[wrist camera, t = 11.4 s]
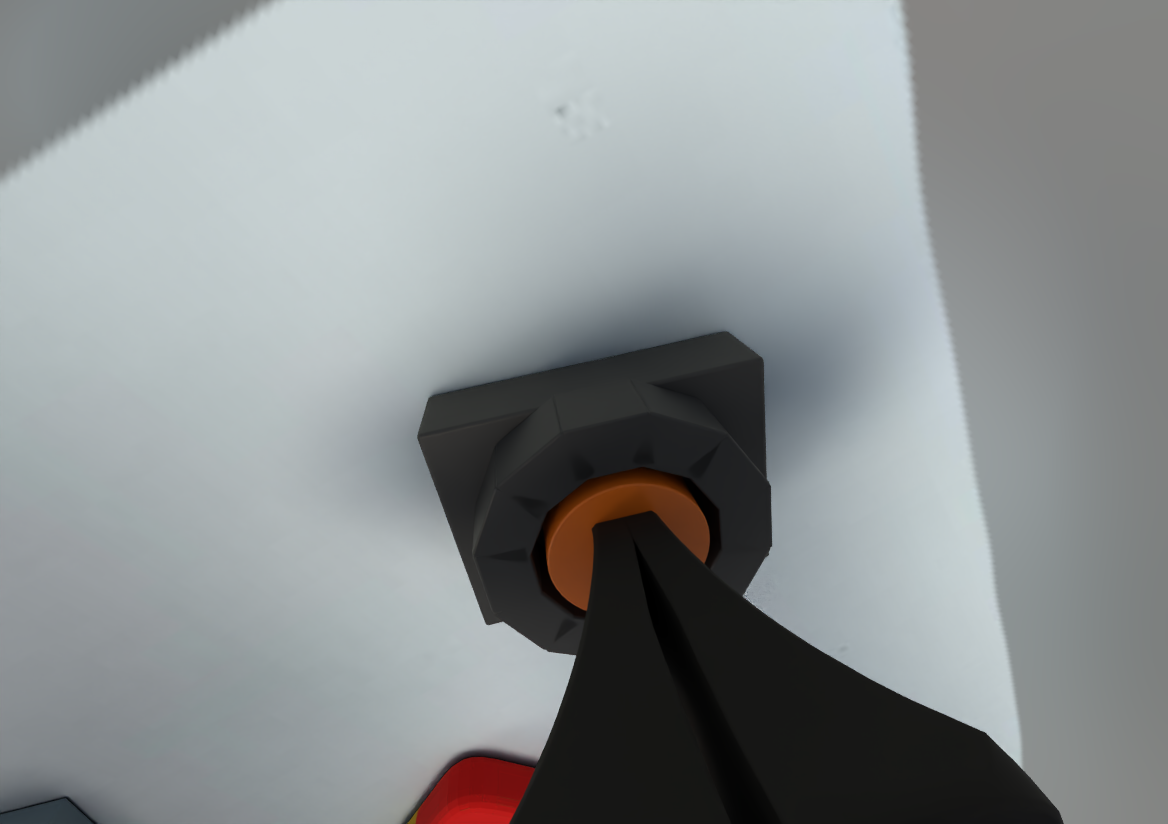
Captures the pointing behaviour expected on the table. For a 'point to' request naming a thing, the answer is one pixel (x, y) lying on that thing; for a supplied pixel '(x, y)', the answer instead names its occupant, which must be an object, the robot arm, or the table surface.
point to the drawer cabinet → (46, 814)
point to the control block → (598, 465)
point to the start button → (613, 500)
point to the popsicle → (476, 793)
